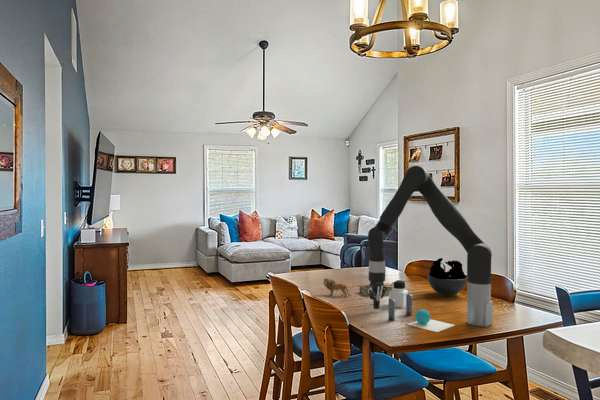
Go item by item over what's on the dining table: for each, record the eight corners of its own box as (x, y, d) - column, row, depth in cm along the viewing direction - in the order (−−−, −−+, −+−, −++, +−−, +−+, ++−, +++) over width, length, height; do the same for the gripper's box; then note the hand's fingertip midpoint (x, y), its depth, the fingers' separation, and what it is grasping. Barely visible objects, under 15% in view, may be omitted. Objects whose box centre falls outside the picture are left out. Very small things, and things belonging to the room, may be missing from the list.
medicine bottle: (407, 305, 226) (408, 280, 225) (403, 308, 219) (403, 282, 219) (393, 303, 229) (394, 278, 229) (388, 306, 223) (389, 281, 223)
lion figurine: (322, 295, 244) (322, 278, 244) (324, 293, 249) (324, 276, 249) (350, 297, 240) (350, 280, 240) (351, 295, 245) (352, 278, 245)
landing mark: (455, 325, 192) (455, 325, 192) (437, 332, 182) (437, 331, 182) (425, 318, 202) (425, 318, 202) (406, 324, 193) (406, 324, 193)
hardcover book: (359, 293, 254) (359, 285, 254) (394, 290, 260) (394, 283, 260) (368, 298, 242) (369, 289, 242) (405, 295, 248) (405, 287, 248)
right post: (413, 314, 208) (413, 294, 207) (409, 316, 206) (410, 295, 206) (408, 313, 210) (408, 293, 209) (404, 314, 208) (405, 294, 208)
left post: (395, 320, 199) (396, 299, 199) (392, 321, 197) (392, 300, 197) (390, 319, 201) (391, 298, 200) (387, 320, 199) (387, 299, 199)
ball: (419, 309, 199) (424, 323, 197) (410, 312, 195) (415, 326, 193) (430, 306, 194) (435, 320, 193) (421, 309, 191) (426, 324, 189)
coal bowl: (469, 300, 236) (470, 263, 235) (428, 298, 240) (429, 261, 239) (463, 292, 255) (464, 257, 255) (426, 290, 259) (426, 256, 259)
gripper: (374, 273, 205) (374, 312, 205) (392, 270, 214) (391, 307, 215) (361, 271, 211) (360, 309, 211) (379, 267, 220) (378, 304, 220)
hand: (376, 308), depth 213 cm, fingers closed
